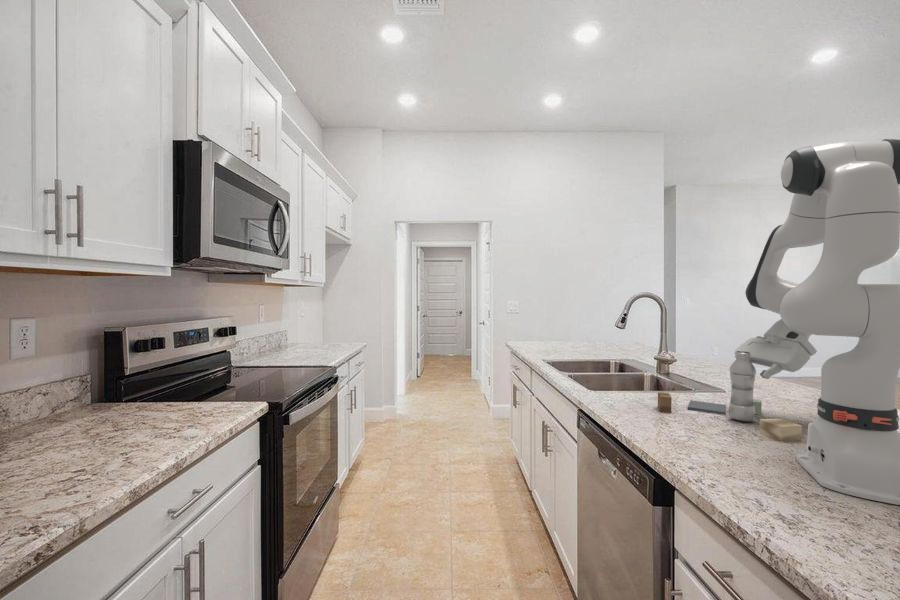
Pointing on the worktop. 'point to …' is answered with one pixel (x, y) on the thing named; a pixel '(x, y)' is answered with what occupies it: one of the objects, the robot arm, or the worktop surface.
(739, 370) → the plastic bottle
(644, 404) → the worktop surface
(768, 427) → the beech brick
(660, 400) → the walnut brick
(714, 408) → the mat
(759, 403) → the sage brick
